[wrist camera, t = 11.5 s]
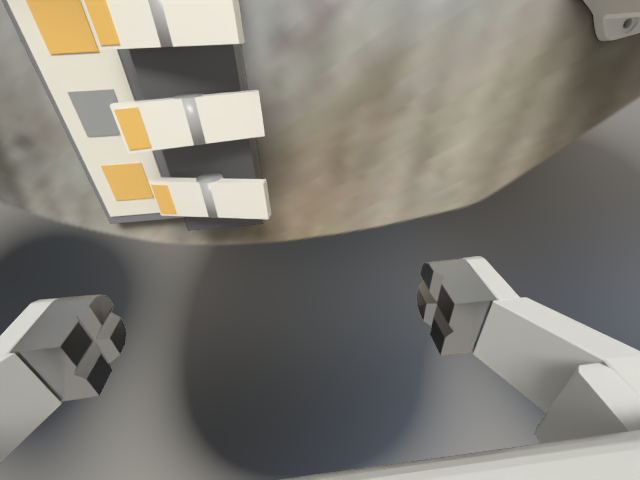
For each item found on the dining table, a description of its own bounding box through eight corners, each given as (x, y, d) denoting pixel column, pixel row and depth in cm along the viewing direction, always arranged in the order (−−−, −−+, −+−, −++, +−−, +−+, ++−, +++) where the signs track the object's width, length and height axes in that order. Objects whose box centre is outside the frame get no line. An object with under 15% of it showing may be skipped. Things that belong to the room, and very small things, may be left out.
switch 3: (270, 173, 29) (262, 184, 27) (274, 207, 31) (268, 219, 29) (162, 172, 31) (147, 182, 29) (173, 204, 33) (160, 216, 31)
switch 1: (242, -21, 21) (227, -26, 19) (251, 42, 23) (238, 44, 21) (103, -9, 23) (76, -13, 21) (122, 48, 25) (99, 50, 23)
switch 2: (254, 87, 27) (258, 91, 25) (260, 129, 29) (265, 136, 27) (116, 100, 25) (109, 105, 23) (133, 145, 27) (128, 154, 25)
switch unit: (224, -59, 25) (212, -78, 21) (265, 204, 39) (263, 227, 34) (-10, -51, 24) (-77, -70, 20) (115, 217, 38) (93, 243, 33)
